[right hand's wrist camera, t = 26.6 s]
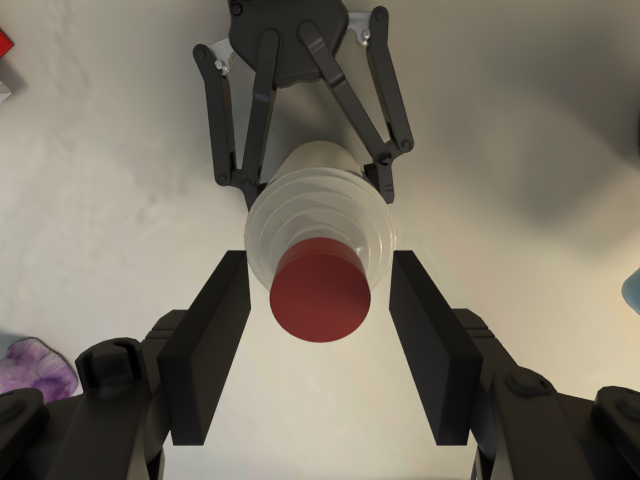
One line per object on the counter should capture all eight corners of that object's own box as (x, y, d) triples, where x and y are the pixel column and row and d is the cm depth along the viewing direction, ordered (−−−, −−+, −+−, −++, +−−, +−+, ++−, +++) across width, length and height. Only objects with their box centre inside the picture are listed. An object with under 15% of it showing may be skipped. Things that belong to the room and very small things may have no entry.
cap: (359, 230, 14) (365, 247, 12) (369, 311, 15) (375, 336, 13) (267, 243, 14) (260, 261, 12) (284, 322, 15) (279, 348, 14)
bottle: (349, 130, 33) (402, 161, 12) (368, 209, 36) (438, 351, 15) (268, 153, 34) (183, 222, 13) (293, 229, 36) (255, 391, 15)
